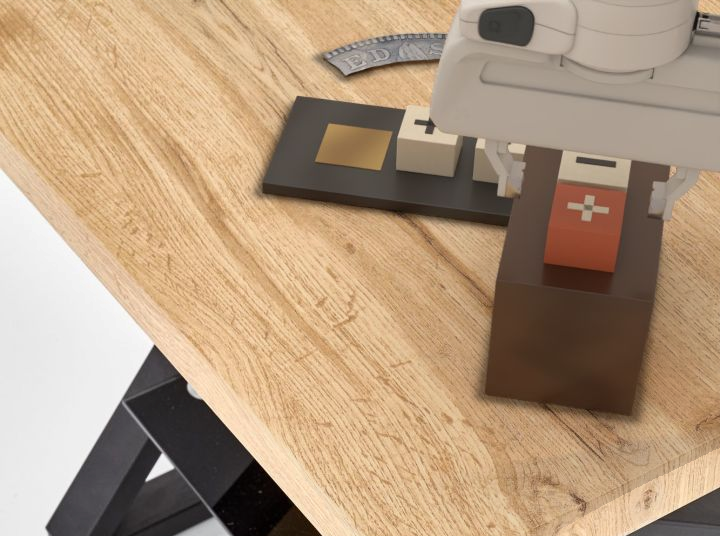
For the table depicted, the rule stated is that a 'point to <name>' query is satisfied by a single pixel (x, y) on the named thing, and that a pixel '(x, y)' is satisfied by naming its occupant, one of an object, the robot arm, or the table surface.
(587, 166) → the slotted cream cube
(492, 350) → the dark brown block stand
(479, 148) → the minus sign block
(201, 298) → the table surface
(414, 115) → the cream math cube
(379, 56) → the coin fragment
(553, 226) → the red plus sign cube
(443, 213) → the dark grey board
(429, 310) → the table surface
